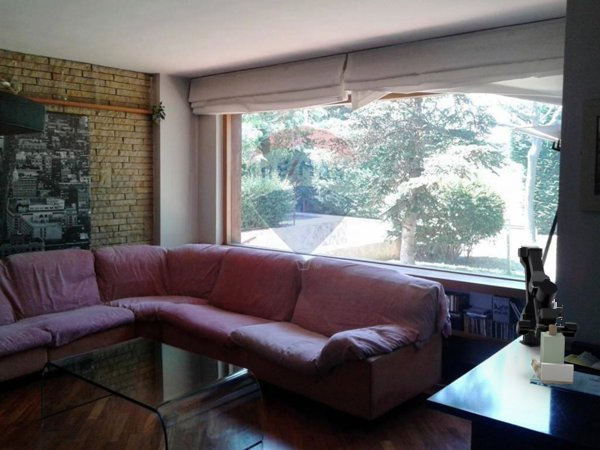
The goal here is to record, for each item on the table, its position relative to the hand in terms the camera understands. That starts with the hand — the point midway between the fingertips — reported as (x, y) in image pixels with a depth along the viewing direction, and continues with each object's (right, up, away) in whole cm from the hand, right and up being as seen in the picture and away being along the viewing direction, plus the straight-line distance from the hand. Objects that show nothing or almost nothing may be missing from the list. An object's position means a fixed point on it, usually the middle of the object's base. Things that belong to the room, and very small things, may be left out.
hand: (550, 351), depth 176 cm
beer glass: (+19, -4, +40) cm, 44 cm away
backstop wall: (-2, -8, -9) cm, 12 cm away
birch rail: (-1, -7, -2) cm, 7 cm away
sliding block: (-1, -6, -2) cm, 6 cm away
